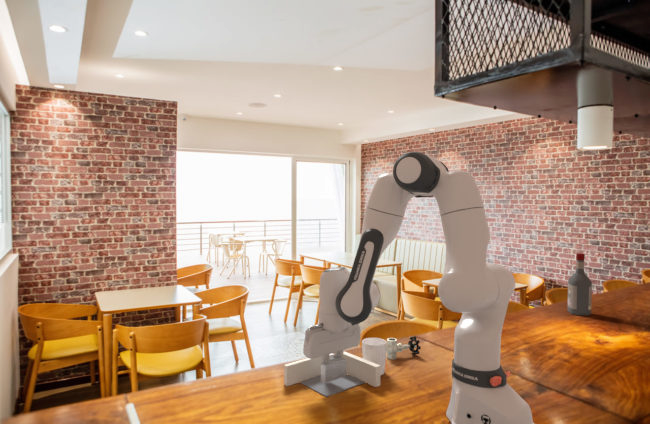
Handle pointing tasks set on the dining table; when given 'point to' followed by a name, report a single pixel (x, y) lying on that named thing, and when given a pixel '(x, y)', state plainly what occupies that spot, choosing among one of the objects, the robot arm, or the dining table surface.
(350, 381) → the mat
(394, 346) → the valve
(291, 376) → the corner walls
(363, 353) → the white cup
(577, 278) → the liquor
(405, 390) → the dining table surface
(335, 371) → the bracket
